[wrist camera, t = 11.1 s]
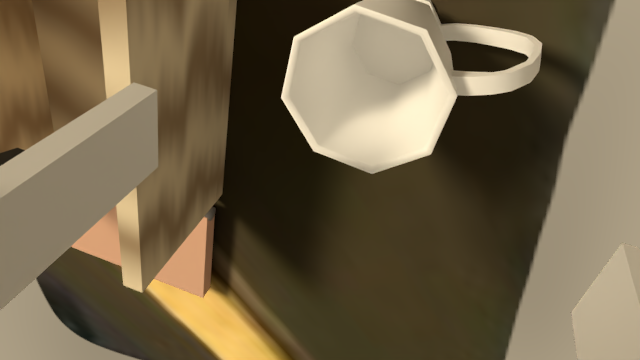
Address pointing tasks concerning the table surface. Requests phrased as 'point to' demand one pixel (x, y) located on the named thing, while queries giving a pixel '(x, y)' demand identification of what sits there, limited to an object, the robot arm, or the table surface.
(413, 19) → the cup
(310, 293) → the table surface
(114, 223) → the tailgate
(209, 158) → the box
